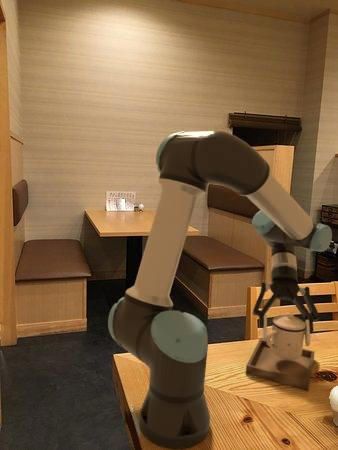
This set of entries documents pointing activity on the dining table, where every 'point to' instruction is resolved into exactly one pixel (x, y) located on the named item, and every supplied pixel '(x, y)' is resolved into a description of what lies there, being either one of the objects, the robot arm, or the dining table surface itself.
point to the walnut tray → (281, 367)
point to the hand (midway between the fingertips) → (286, 342)
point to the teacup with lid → (286, 336)
